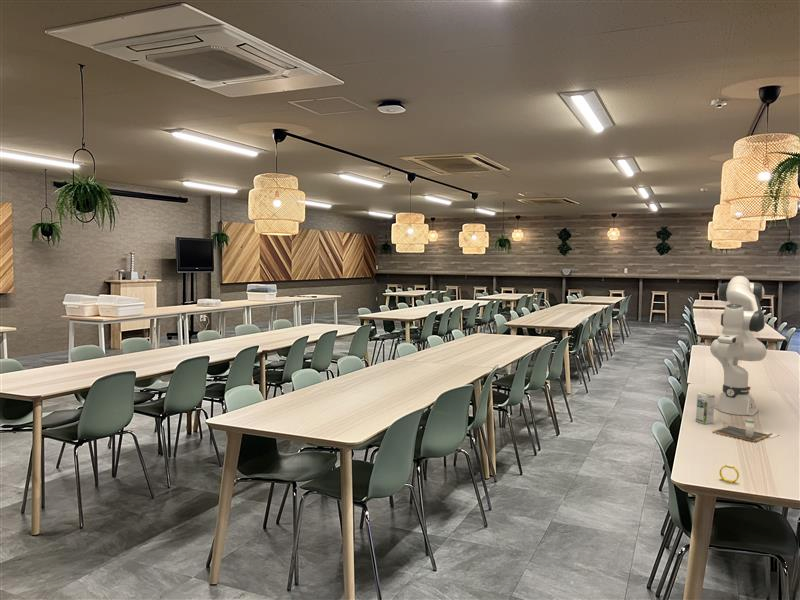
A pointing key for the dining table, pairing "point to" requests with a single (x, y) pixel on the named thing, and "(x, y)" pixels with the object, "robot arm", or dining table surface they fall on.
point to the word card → (771, 434)
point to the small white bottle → (749, 427)
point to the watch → (729, 467)
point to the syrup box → (705, 408)
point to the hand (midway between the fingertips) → (730, 366)
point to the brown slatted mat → (740, 434)
